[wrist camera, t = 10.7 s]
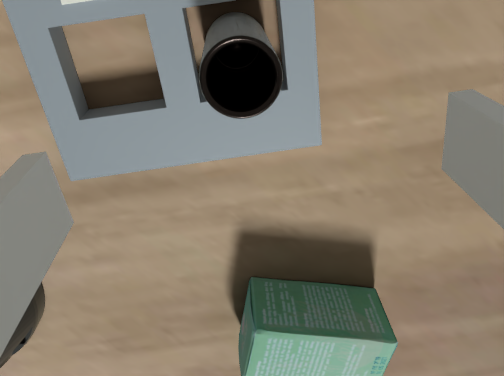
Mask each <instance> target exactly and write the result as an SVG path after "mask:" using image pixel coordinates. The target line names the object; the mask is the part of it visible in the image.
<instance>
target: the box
mask: <svg viewBox="0 0 504 376" xmlns="http://www.w3.org/2000/svg"><path fill="white" fill-rule="evenodd" d="M397 344H398V342H397V339H396V337H395V335H394V332H393V330H392V328H391V325H390V323H389V320H388V318H387V316H386V313H385V311H384V308H383V306H382V303H381V301H380V299H379V296H378V294H377V291H376V289H375V288H366V287H357V286H348V285H338V284H327V283H315V282H303V281H291V280H279V279H268V278H258V277H251V279H250V281H249V286H248V291H247V296H246V302H245V307H244V312H243V317H242V322H241V327H240V333H239V364H240V371H241V376H383V374H384V372H385V370H386V367H387V365H388V363H389V361H390V359H391V357H392V355H393V353H394V351H395V349H396V347H397Z"/></svg>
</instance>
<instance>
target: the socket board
mask: <svg viewBox="0 0 504 376" xmlns="http://www.w3.org/2000/svg"><path fill="white" fill-rule="evenodd" d="M2 1H3V4H4V7H5V9H6V12H7V15H8V17H9V20H10V22H11V25H12V28H13V30H14V33H15V36H16V38H17V41H18V43H19V46H20V49H21V51H22V54H23V57H24V59H25V62H26V65H27V67H28V70H29V72H30V75H31V78H32V80H33V83H34V86H35V88H36V91H37V93H38V96H39V99H40V101H41V104H42V107H43V109H44V112H45V114H46V117H47V120H48V122H49V125H50V128H51V130H52V133H53V136H54V138H55V141H56V143H57V146H58V149H59V151H60V154H61V157H62V159H63V162H64V164H65V167H66V170H67V172H68V175H69V178H70V180H71V181H75V180H82V179H89V178H96V177H103V176H109V175H116V174H123V173H130V172H137V171H144V170H151V169H158V168H165V167H172V166H179V165H186V164H193V163H200V162H207V161H214V160H221V159H227V158H234V157H241V156H248V155H255V154H262V153H269V152H276V151H283V150H290V149H297V148H304V147H311V146H318V145H322V141H321V123H320V104H319V86H318V68H317V50H316V32H315V14H314V0H276V4H277V15H278V25H279V36H280V47H281V57H282V68H283V78H284V81H282V87H281V90H280V93H279V95H278V97H277V99H276V100H275V102H274V103H273V104H272V105H271V106H270V107H269V108H268V109H267V110H266V111H264V112H263V113H261V114H259V115H257V116H254V117H251V118H245V119H236V118H231V117H227V116H225V115H222V114H220V113H219V112H217V111H216V110H215V109H213V108H212V107H211V106H210V105H209V104H208V102H207V101H206V99H205V98H204V96H203V94H202V92H201V88H200V83H199V76H198V71H197V65H196V60H195V55H194V50H193V44H192V39H191V34H190V29H189V23H188V18H187V13H186V8H187V7H193V6H200V5H207V4H214V3H221V2H227V1H234V0H2ZM139 14H145V17H146V22H147V26H148V30H149V34H150V39H151V43H152V47H153V51H154V56H155V60H156V64H157V68H158V73H159V77H160V81H161V85H162V90H163V94H164V99H158V100H151V101H144V102H137V103H130V104H123V105H116V106H109V107H103V108H96V109H88V106H87V103H86V100H85V97H84V93H83V90H82V87H81V84H80V81H79V78H78V75H77V72H76V69H75V66H74V63H73V60H72V57H71V54H70V51H69V48H68V45H67V41H66V38H65V35H64V32H63V29H62V26H65V25H71V24H78V23H85V22H92V21H99V20H105V19H112V18H119V17H126V16H132V15H139Z"/></svg>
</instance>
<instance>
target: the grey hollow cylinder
mask: <svg viewBox="0 0 504 376" xmlns="http://www.w3.org/2000/svg"><path fill="white" fill-rule="evenodd" d="M282 81H283V73H282V67H281V64H280V61H279V58H278V56H277V54H276V53H275V51H274V49H273V47H272V45H271V43H270V41H269V39H268V37H267V36H266V34H265V32H264V30H263V28H262V27H261V25H260V24H259V23H258V22H257V21H256V20H255V19H254V18H253V17H251V16H249V15H247V14H245V13H241V12H231V13H227V14H224V15H222V16H220V17H219V18H218V19H216V20H215V21H214V22H213V24H212V25H211V26H210V28H209V30H208V32H207V35H206V40H205V45H204V50H203V55H202V60H201V65H200V71H199V83H200V88H201V91H202V94H203V96H204V98H205V99H206V101H207V102H208V104H209V105H210V106H211V107H212V108H213V109H215V110H216V111H217V112H219V113H220V114H222V115H225V116H227V117H231V118H236V119H245V118H251V117H254V116H257V115H259V114H261V113H263V112H264V111H266V110H267V109H268V108H269V107H270V106H271V105H272V104H273V103H274V102H275V100H276V99H277V97H278V95H279V93H280V90H281V87H282Z"/></svg>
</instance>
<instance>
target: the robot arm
mask: <svg viewBox="0 0 504 376" xmlns="http://www.w3.org/2000/svg"><path fill="white" fill-rule="evenodd" d="M442 170H443V171H444V172H445V173H446V174H447V175H448V176H449V177H450V178H452V179H453V180H454V181H455V182H456V183H457V184H458V185H459V186H460V187H461V188H462V189H463V190H464V191H465V192H466V193H467V194H468V195H469V196H470V197H471V198H472V199H473V200H474V201H475V202H476V203H477V204H478V205H479V206H480V207H481V208H482V209H483V210H484V211H486V212H487V213H488V214H489V215H490V216H491V217H492V218H493V219H494V220H495V221H496V222H497V223H498V224H499V225H500V226H501V227H502V228H503V229H504V106H503V105H501V104H499V103H497V102H495V101H493V100H492V99H490V98H488V97H486V96H484V95H482V94H480V93H479V92H477V91H475V90H473V89H470V90H464V91H457V92H450V93H449V96H448V106H447V117H446V127H445V138H444V149H443V159H442ZM73 223H74V221H73V219H72V216H71V214H70V211H69V209H68V206H67V204H66V201H65V199H64V196H63V194H62V191H61V189H60V186H59V184H58V181H57V179H56V176H55V174H54V171H53V169H52V166H51V163H50V161H49V158H48V156H47V153H46V152H40V153H33V154H27V155H22V156H21V157H20V158H19V159H18V160H17V161H16V162H15V163H14V164H13V165H12V166H11V167H10V168H9V169H8V170H7V171H6V172H5V173H4V174H3V175H2V176H1V177H0V368H1V367H2V366H3V365H4V364H5V363H6V362H7V361H8V360H9V359H10V357H11V356H12V355H13V354H15V353H16V352H17V351H19V350H20V349H21V348H22V347H23V346H24V345H25V344H26V343H27V342H28V340H29V339H30V338H31V336H32V335H33V333H34V331H35V329H36V327H37V325H38V323H39V321H40V319H41V317H42V315H43V312H44V307H45V296H44V291H43V287H42V285H41V282H42V280H43V278H44V276H45V274H46V272H47V271H48V269H49V267H50V265H51V263H52V261H53V260H54V258H55V256H56V254H57V252H58V250H59V249H60V247H61V245H62V243H63V241H64V240H65V238H66V236H67V234H68V232H69V230H70V229H71V227H72V225H73Z"/></svg>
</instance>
